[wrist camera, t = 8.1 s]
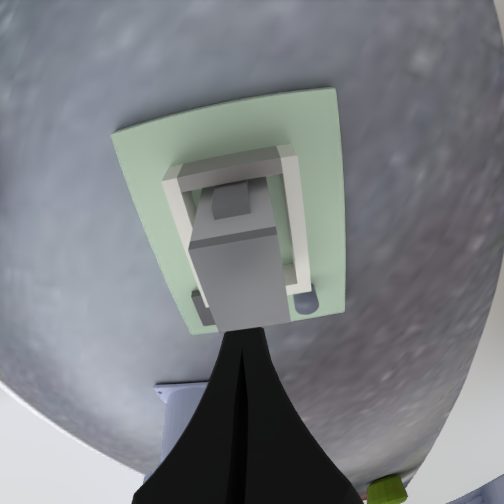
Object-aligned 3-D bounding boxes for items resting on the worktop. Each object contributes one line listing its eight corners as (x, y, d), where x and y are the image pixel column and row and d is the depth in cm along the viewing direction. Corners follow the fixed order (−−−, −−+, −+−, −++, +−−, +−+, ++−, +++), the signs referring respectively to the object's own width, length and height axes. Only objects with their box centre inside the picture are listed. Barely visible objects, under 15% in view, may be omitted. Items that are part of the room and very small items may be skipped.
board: (342, 304, 24) (351, 331, 22) (191, 327, 25) (188, 355, 23) (331, 86, 15) (348, 93, 13) (115, 131, 16) (95, 145, 13)
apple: (376, 476, 67) (383, 510, 58) (409, 468, 68) (417, 499, 59) (356, 487, 74) (362, 517, 65) (389, 480, 76) (394, 509, 66)
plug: (278, 249, 20) (290, 322, 15) (222, 259, 20) (219, 332, 15) (263, 165, 17) (275, 220, 12) (199, 177, 17) (183, 237, 12)
